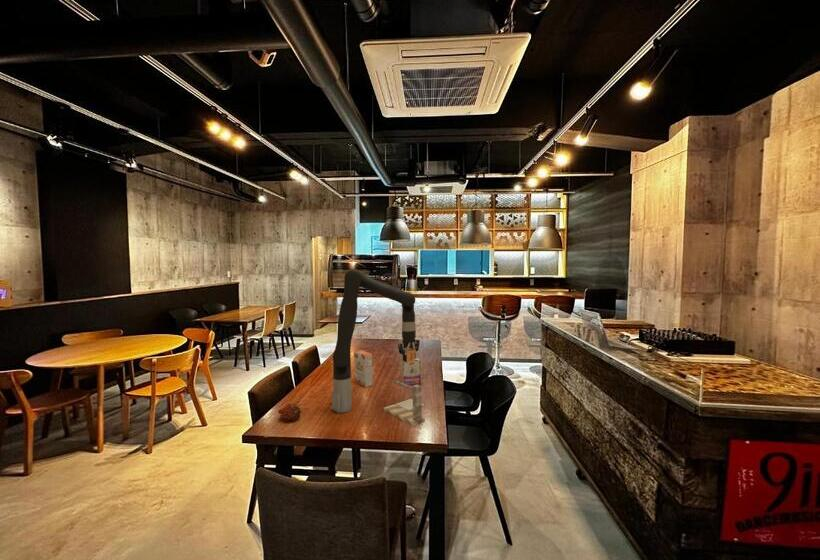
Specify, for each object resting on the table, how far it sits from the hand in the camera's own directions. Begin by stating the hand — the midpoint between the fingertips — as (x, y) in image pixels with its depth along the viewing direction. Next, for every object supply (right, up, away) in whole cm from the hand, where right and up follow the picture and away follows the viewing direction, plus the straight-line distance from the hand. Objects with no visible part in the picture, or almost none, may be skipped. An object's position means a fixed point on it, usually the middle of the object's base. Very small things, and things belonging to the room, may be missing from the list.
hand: (409, 360), depth 187 cm
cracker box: (-30, -24, +36) cm, 52 cm away
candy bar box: (+1, -24, +34) cm, 41 cm away
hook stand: (-3, -25, -12) cm, 28 cm away
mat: (0, -25, +1) cm, 25 cm away
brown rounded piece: (-60, -26, -15) cm, 67 cm away
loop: (0, -1, 0) cm, 1 cm away
